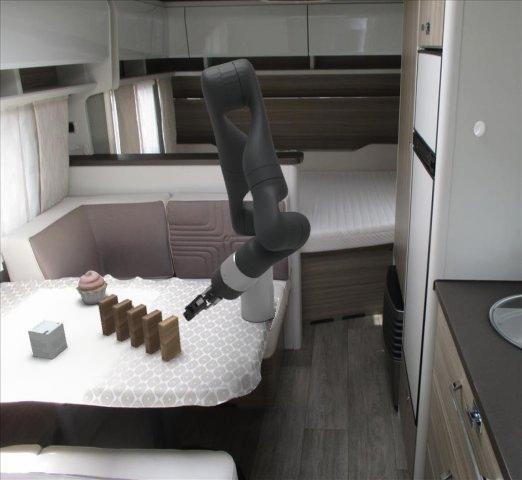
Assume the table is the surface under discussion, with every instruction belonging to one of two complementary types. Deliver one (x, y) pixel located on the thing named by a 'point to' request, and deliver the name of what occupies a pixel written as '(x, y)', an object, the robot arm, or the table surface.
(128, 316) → the domino
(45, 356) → the skincare box
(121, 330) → the domino
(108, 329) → the domino
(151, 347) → the domino
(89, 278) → the cupcake
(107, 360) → the table surface
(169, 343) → the domino
